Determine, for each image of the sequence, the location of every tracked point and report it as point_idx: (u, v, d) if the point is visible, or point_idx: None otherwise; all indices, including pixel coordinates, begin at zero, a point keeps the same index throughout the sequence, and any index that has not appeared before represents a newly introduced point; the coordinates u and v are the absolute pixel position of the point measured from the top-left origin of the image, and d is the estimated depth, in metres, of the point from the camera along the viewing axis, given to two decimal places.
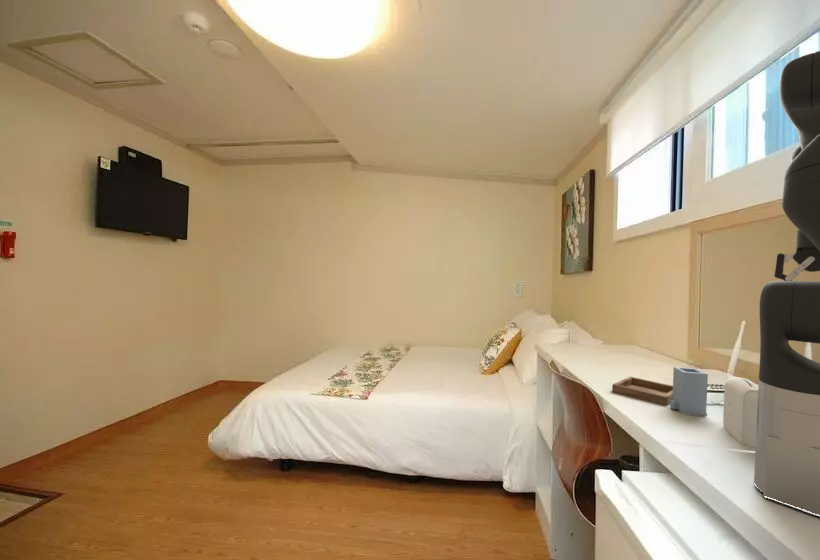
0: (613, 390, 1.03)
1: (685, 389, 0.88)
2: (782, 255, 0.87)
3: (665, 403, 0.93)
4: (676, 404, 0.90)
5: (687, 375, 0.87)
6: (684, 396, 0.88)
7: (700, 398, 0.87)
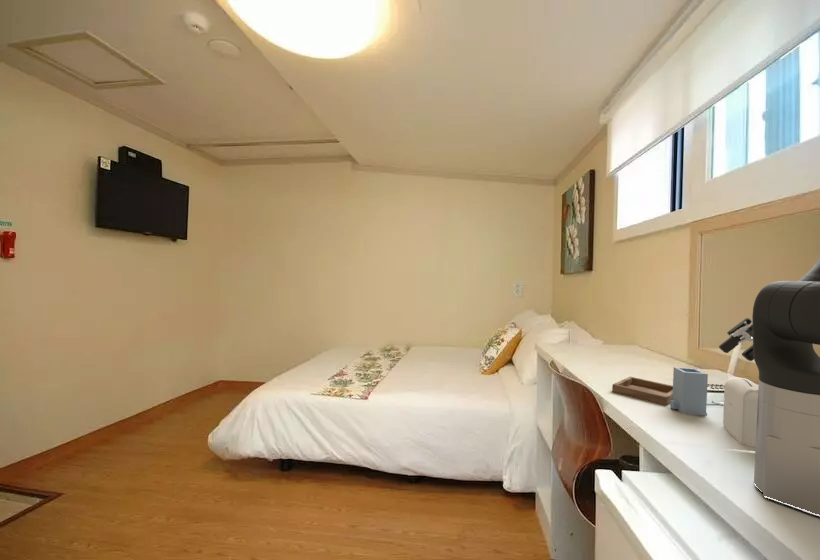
0: (613, 390, 1.03)
1: (685, 389, 0.88)
2: None
3: (665, 403, 0.93)
4: (676, 404, 0.90)
5: (687, 375, 0.87)
6: (684, 396, 0.88)
7: (700, 398, 0.87)
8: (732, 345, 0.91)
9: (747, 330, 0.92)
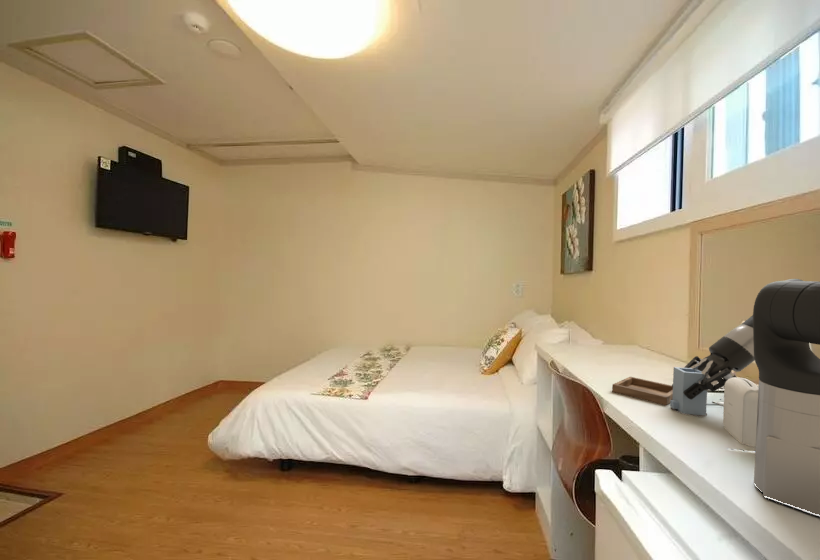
0: (613, 390, 1.03)
1: (685, 389, 0.88)
2: None
3: (665, 403, 0.93)
4: (676, 404, 0.90)
5: (687, 375, 0.87)
6: (684, 396, 0.88)
7: (700, 398, 0.87)
8: None
9: None
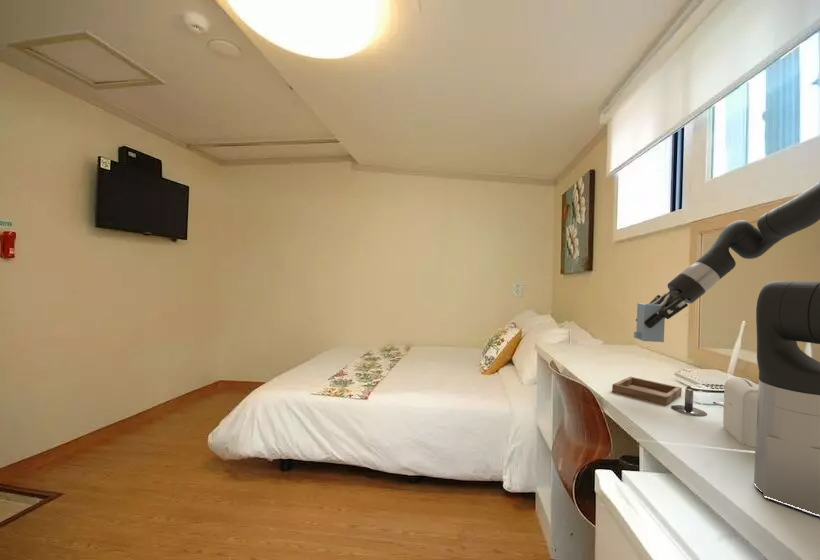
0: (613, 390, 1.03)
1: (645, 319, 0.99)
2: None
3: (665, 403, 0.93)
4: (638, 334, 1.01)
5: (647, 307, 0.99)
6: (645, 326, 0.99)
7: (658, 327, 0.99)
8: None
9: None
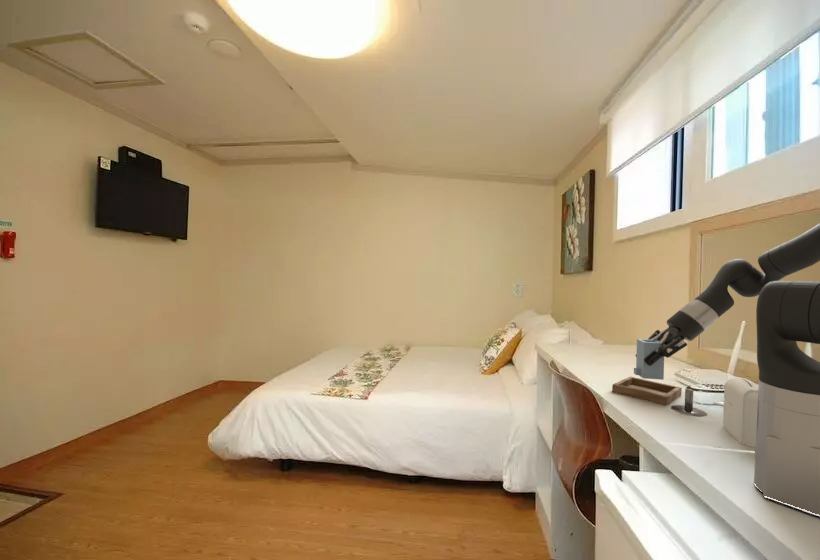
0: (613, 390, 1.03)
1: (645, 357, 1.00)
2: None
3: (665, 403, 0.93)
4: (638, 371, 1.02)
5: (647, 344, 1.00)
6: (644, 363, 1.00)
7: (658, 364, 0.99)
8: None
9: None
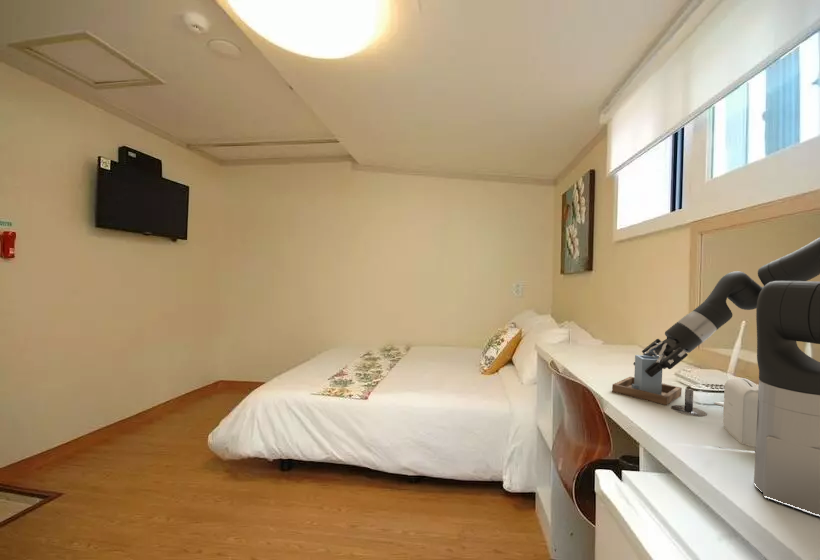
0: (613, 390, 1.03)
1: (643, 374, 1.00)
2: None
3: (665, 403, 0.93)
4: (636, 387, 1.02)
5: (645, 361, 1.00)
6: (642, 380, 1.00)
7: (656, 381, 0.99)
8: None
9: None
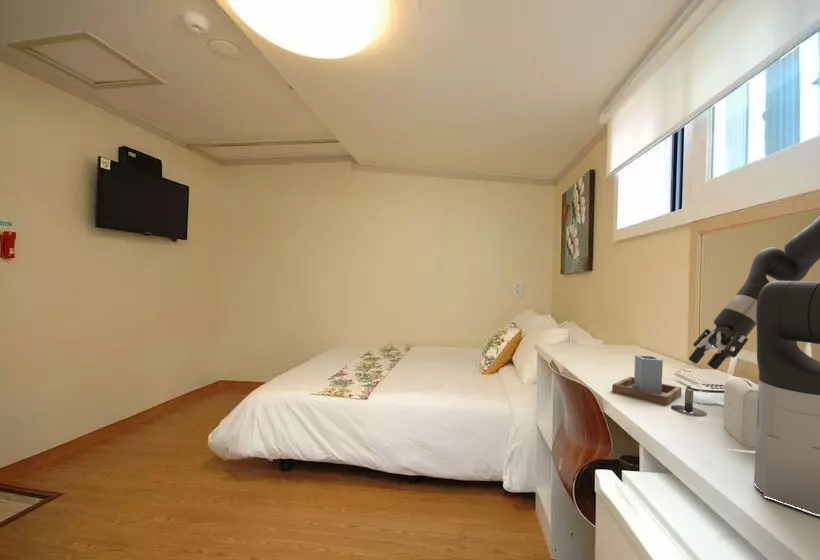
0: (613, 390, 1.03)
1: (643, 374, 1.00)
2: None
3: (665, 403, 0.93)
4: (636, 387, 1.02)
5: (645, 361, 1.00)
6: (642, 380, 1.00)
7: (656, 381, 0.99)
8: (699, 356, 1.01)
9: None
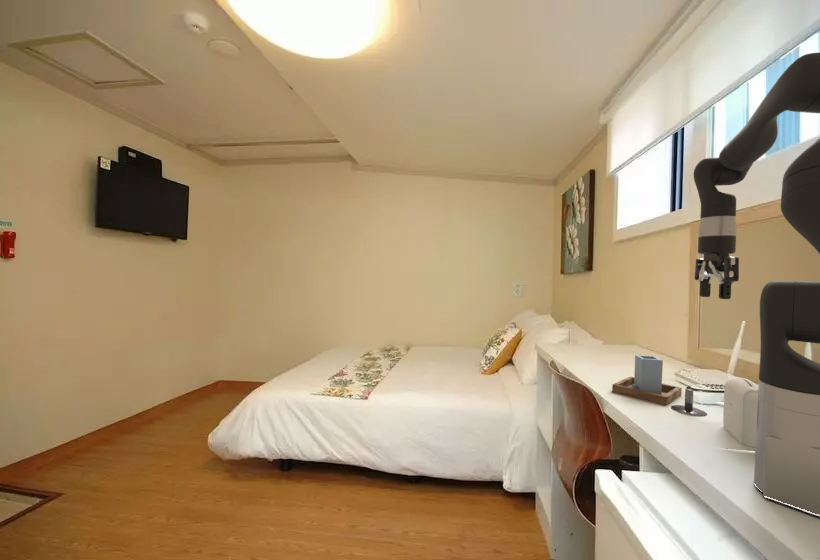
0: (613, 390, 1.03)
1: (643, 374, 1.00)
2: None
3: (665, 403, 0.93)
4: (636, 387, 1.02)
5: (645, 361, 1.00)
6: (642, 380, 1.00)
7: (656, 381, 0.99)
8: (707, 288, 0.98)
9: None
